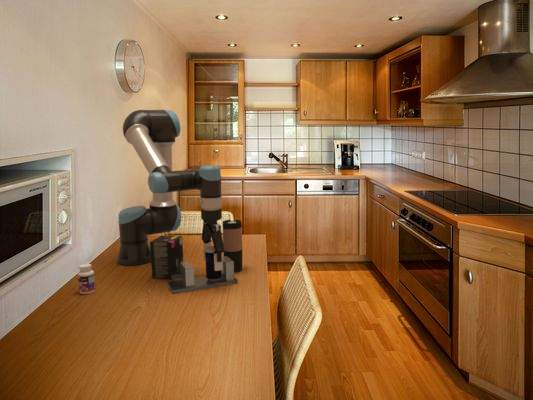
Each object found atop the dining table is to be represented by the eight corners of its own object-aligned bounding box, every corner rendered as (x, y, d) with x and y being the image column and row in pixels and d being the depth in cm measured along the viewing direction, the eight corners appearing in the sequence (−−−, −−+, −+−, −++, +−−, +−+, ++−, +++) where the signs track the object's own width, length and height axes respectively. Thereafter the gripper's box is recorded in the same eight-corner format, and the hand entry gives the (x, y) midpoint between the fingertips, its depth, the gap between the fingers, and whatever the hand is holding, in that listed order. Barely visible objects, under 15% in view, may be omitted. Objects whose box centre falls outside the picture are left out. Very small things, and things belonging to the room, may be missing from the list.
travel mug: (231, 274, 182) (230, 224, 179) (220, 270, 187) (218, 221, 184) (246, 270, 187) (245, 221, 184) (235, 266, 192) (233, 218, 189)
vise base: (167, 285, 171) (165, 263, 170) (228, 275, 180) (228, 255, 179) (172, 293, 162) (171, 271, 160) (237, 283, 171) (237, 261, 170)
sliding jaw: (170, 282, 170) (169, 263, 169) (188, 279, 173) (188, 261, 172) (174, 288, 163) (173, 269, 162) (194, 285, 166) (193, 266, 164)
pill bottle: (75, 293, 164) (73, 266, 163) (86, 288, 169) (84, 262, 168) (88, 295, 162) (85, 268, 161) (98, 290, 167) (96, 263, 166)
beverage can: (218, 275, 176) (217, 245, 174) (223, 280, 171) (222, 248, 169) (204, 277, 174) (203, 246, 172) (208, 282, 169) (207, 250, 167)
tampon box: (174, 279, 177) (172, 242, 174) (151, 278, 179) (149, 241, 176) (184, 270, 187) (182, 235, 185) (163, 270, 189) (161, 234, 187)
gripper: (192, 203, 178) (194, 257, 182) (211, 215, 156) (213, 276, 159) (211, 202, 181) (212, 254, 185) (232, 213, 159) (233, 273, 162)
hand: (213, 264), depth 172 cm, fingers open, 13 cm apart
